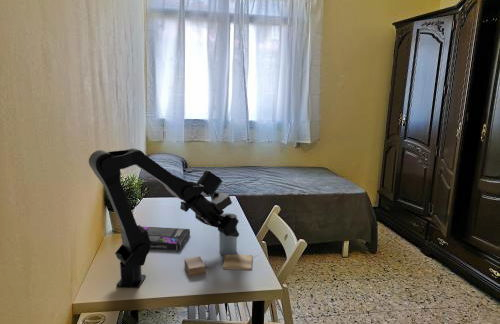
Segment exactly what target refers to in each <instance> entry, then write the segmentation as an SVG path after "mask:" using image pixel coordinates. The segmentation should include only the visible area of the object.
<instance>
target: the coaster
mask: <svg viewBox="0 0 500 324" xmlns="http://www.w3.org/2000/svg"><path fill="white" fill-rule="evenodd" d="M252 267H253V255H252V254H234V255H224V260H223V265H222V269H223V270H247V271H249V270H252Z"/></svg>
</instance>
